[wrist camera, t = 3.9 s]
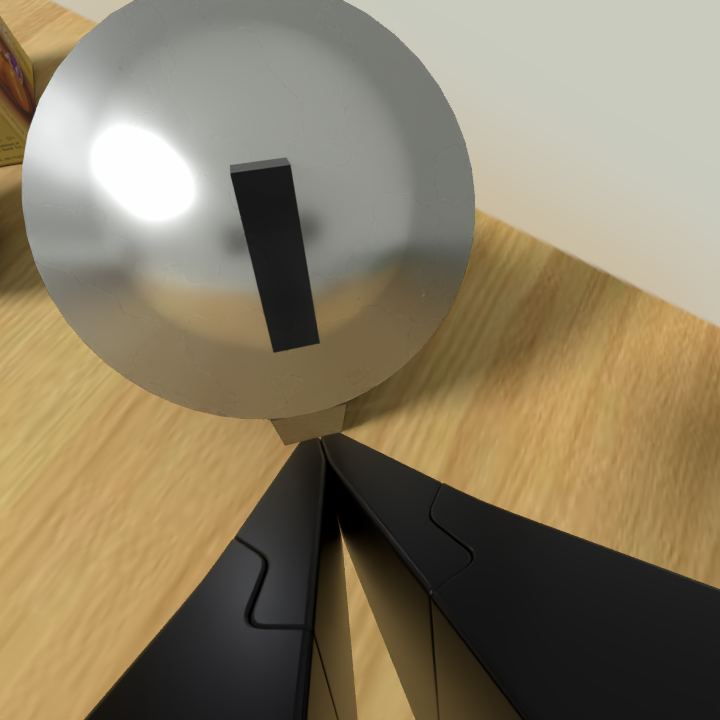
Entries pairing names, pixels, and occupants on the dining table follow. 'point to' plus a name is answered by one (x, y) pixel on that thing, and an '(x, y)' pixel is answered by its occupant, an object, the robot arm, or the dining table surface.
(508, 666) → the robot arm
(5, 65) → the candy box
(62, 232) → the lid
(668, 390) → the dining table surface
